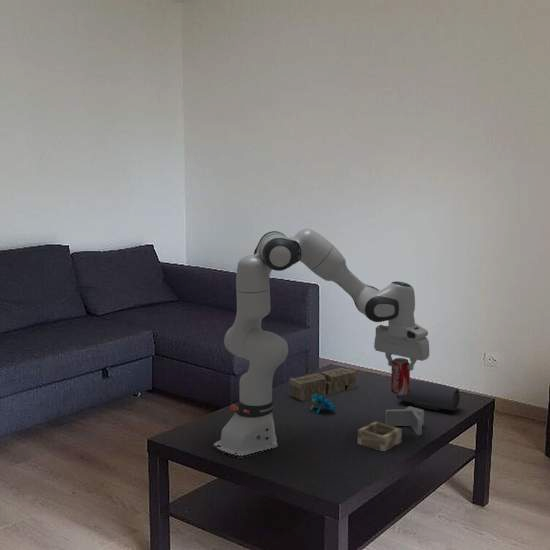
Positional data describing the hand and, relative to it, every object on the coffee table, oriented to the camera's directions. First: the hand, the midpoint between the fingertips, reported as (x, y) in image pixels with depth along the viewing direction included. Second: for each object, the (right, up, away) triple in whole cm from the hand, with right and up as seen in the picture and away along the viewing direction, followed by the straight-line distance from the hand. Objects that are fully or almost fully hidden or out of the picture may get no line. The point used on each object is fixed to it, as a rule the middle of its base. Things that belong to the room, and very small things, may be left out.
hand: (400, 367), depth 250 cm
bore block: (-8, -25, -4) cm, 27 cm away
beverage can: (0, -9, +2) cm, 10 cm away
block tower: (-24, -17, +48) cm, 56 cm away
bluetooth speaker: (+16, -19, +31) cm, 40 cm away
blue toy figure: (-25, -20, +26) cm, 42 cm away
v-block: (+5, -23, +10) cm, 25 cm away
